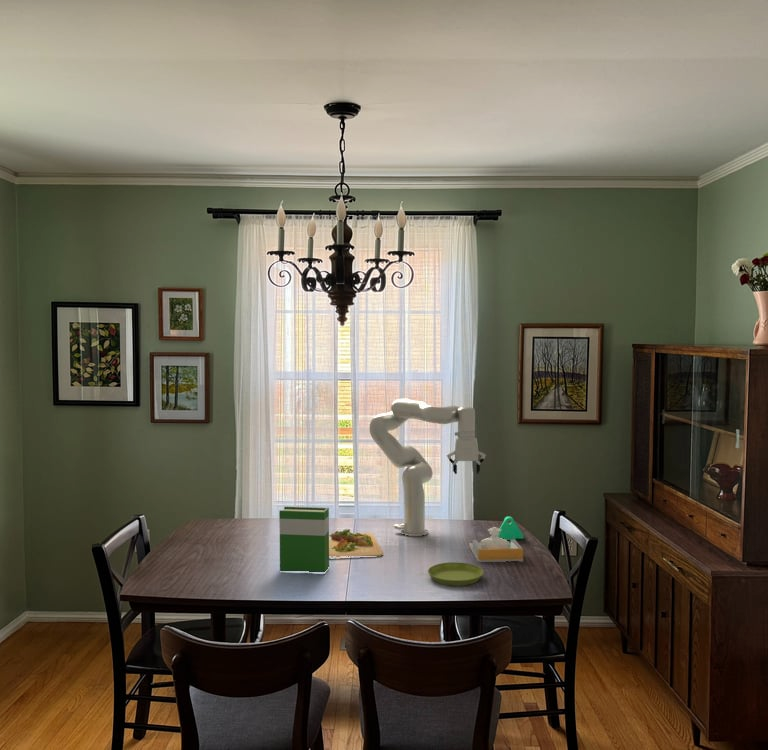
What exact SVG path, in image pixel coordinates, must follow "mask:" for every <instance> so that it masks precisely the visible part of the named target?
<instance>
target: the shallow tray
mask: <svg viewBox="0 0 768 750" xmlns="http://www.w3.org/2000/svg"><path fill="white" fill-rule="evenodd" d="M508 542H509V549H482V547H481V544H480V542H479V541H478V540H477V539H472V542H469V543H468V546H469V548H470V549H471V551H472V553H473V555H474V556H475V558H476V560H477V562H478V563H504V562H505V563H506V561H509V562H508V563H510V561H519V562H524V549H523V547H522V546H521V545H520V544H519V542H518V541H517V539H511V541H508Z"/></svg>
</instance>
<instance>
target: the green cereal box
mask: <svg viewBox="0 0 768 750" xmlns="http://www.w3.org/2000/svg"><path fill="white" fill-rule="evenodd" d="M278 512H279V513H278V515H279V521H278V522H279V572H280V571H309V572H325V571H326V570H327V569H328V567H329V568H330V559H329V534H330V508H329V507H317V506H316V507H315V506H311V507H310V506H284V507H283V509H282V510H279V511H278Z"/></svg>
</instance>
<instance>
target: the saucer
mask: <svg viewBox="0 0 768 750" xmlns="http://www.w3.org/2000/svg"><path fill="white" fill-rule="evenodd" d="M427 573H428V574H429V576H430V577H431V578H432V580H434V581H435V582H436V583H438V584H441V585H445V586H451V587H453V586H455V587H462V586H469V585H473V584H475V583H476V582H478V581H479V580H480V579H481V578H482V577H483V575H484V569H483V568H482V567H480V566H478V565H475V564H472V563H468V562H460V561H459V562H457V561H456V562H453V561H452V562H442V563H437V564H434V565H431V566H430V567H428V570H427Z"/></svg>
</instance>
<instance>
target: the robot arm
mask: <svg viewBox="0 0 768 750" xmlns="http://www.w3.org/2000/svg"><path fill="white" fill-rule="evenodd" d="M390 410H391V411H389V412H386V413H385V412H384V413H379V414H377V415H375V416H374V417H373V418H372V419H371V421H370V423H369V433H370V437H371V439H372V440H373V441H374V442H375V444H376V445H378V447H379V448H380V450H381V451H382V452H383V454H385V456H386V457H387V459H388V460H389V461H390V462H391V463H392V465H393V466H394V467H395V468H397V469H402V468H405V469H404V470H403V473H402V477H401V479H402V485H403V500H404V501H403V502H404V503H403V505H404V507H403V509H404V510H403V511H404V512H403V513H404V515H403V519H404V521H403V522H402V523H401V524H394V525H393V526H394V530H397V531H398V530H400V533H403V534H405V535H404V536H406V535H410V536H409V537H423V536H422V535H424V536H426V534H427V535H428V534H429V530H428V529H427V528H426V527H425V522H426V519H425V517H426V515H425V512H426V511H425V507H426V506H425V502H426V501H425V498H426V497H425V489H424V486H423V484H426V483H428V482H429V481H430V480H431V479H432V478H433V472H434V471H433V469H432V467H431V465H430V464H429V463H428V461H427V460H426V459H425V458H424V457H423V455H422V454H421V453H420V452H419V450H418V449H416V448H415V447H414V446H411V445H405V446H403V444H401V443H400V442H399V441H398V439H397V438H396V437H395V436H394V435H392V434H391V433H390V432H389V431H393V430H396V429H398V428H399V427H401V426H402V425H403V424H404V423H406V421H408V420H409V419H411V420H419V421H422V422H426V423H432V424H437V425H438V424H440V425H447V424H452V423H457V431H456V432H454V436H457V437H456V439H455V442H454V443H455V445H454V451H453V450H452V451H451V452H450V453H448V454H446V457H447V458H448V459H447V460H449V462H450V463H451V464H452V472H453V473H454V475H457V474H458V466H457V463H458V462H475V473H476V474H479V473H480V471H481V470H480V469H481V464H482V463H483V462H484V461H485V458H486V456H487V454H486V453H484V452H481V451H479V445H478V444H479V443H478V438H477V437H476V411H475V408H474V407H472V406H463V407H462V406H457V405H449V406H433V405H428V404H427V403H426V402H425V401H421V400H420V401H419V400H413V399H412V398H410V397H409V398H407V397H406V398H399V399H396V400H394V401H393V402H392V403H391V406H390ZM479 455H480V456H481V458H479ZM453 456H454V460H453V458H452V457H453ZM403 534H402V535H403Z"/></svg>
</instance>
